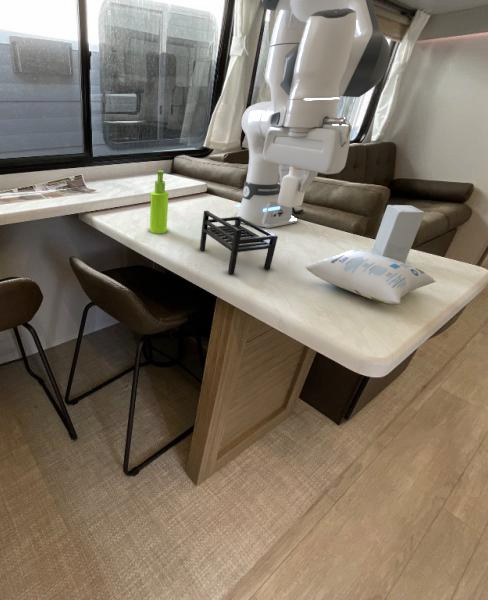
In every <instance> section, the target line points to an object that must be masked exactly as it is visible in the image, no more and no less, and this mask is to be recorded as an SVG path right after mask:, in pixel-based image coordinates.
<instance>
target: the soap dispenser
mask: <svg viewBox="0 0 488 600" xmlns="http://www.w3.org/2000/svg"><path fill="white" fill-rule="evenodd" d="M149 207H150V210H149V211H150V213H149V231H150V233H153V234H164V233H166V232H167V228H168V227H167V225H168V208H169V192H168V191H166V181H165V180H164V169H157V180H155V181H154V191H151V192H150V206H149Z"/></svg>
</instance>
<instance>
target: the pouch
mask: <svg viewBox="0 0 488 600" xmlns="http://www.w3.org/2000/svg"><path fill="white" fill-rule="evenodd" d="M304 268H305V270H307V271H308V272H309V273H311V274H312V275H313V276H315V277H317V278H318V279H320V280H323V281H325V282H327V283H329V284H331V285H334V286H336V287H338V288H341V289H342V290H346V291H348V292H350V293H352V294H353V293H354V294H356V295H359V296H361V297H364V298H367V299H369V300H372V301H375V302H376V301H377V302H379V303H383V304H386V305H387V304H388V305H397V304H401V298H403V297H404V296H405V295H406V294H409V293H412V292H413V291H415V290H417V289H420V288H423V287H425V286H428V285H431V284H433V283H436V282H437V280H435V278H433V277H432V276H431V275H430V274H428V273H426V272H425V271H423V270H421V269H419V268H417V267H415V266H413V265H409V264H407V263H406V262H405V263H402V262H400V261H397V260H393V259H390V258H387V257H384V256H380V255H377V254H373V253H371V252H369V251H363V250H355V249H350V250H346V251H343V252H341V253H339V254H336V255H333V256H329V257H327V258H324V259H321V260H319V261H315V262H314V263H311V264H309V265H307V266H304Z"/></svg>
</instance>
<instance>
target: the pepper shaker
mask: <svg viewBox="0 0 488 600" xmlns="http://www.w3.org/2000/svg"><path fill="white" fill-rule="evenodd" d="M304 171H305V169H300V168H296V167H292V166H290V168H289V174H288V175H286V176H284V177H283V178H282V183H281V188H280V193H279V198H278V204H279V205H282V206H286V207H290V208H292V207H294V208H296V207H299V206H302V204H303V202H304V197H305V194H306V192H303V193H302V192H299V191H298V185H299V183H301V182H302V181H303V179H304V178H305V176H306V175H304Z"/></svg>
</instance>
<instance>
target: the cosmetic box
mask: <svg viewBox="0 0 488 600" xmlns="http://www.w3.org/2000/svg"><path fill="white" fill-rule="evenodd" d="M425 214H426V212H425V211H423V210H421V209H419V208H417V207H415V206H414V205H407V204H406V205H405V204H402V205H401V204H387V206H386V208H385V212H384V214H383V217H382V219H381V222H380V224H379V225H380V226H379V228H378V231H377V234H376V236H375V239H374V242H373V245H372V248H371V251H370V253H373V254H377V255H380V256H384V257H387V258H390V259H393V260H397V261H400V262H402V263H405V264H406V261H407V259H408V256H409V253H410V251H411V248H412V247H413V244H414V242H415V239H416V236H417V234H418V232H419V229H420V226H421V225H422V223H423V220H424V217H425Z"/></svg>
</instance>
